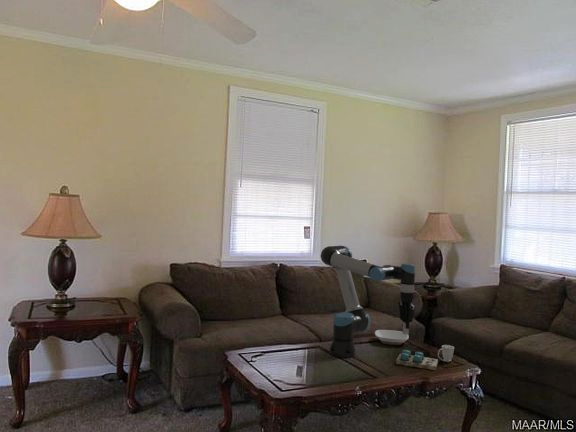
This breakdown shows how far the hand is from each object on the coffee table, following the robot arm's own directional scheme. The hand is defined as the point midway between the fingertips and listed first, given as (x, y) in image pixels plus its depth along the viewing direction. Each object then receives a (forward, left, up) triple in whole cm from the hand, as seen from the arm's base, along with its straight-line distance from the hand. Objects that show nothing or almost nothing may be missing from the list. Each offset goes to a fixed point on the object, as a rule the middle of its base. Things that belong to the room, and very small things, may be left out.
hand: (405, 333), depth 262 cm
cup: (+20, +16, -17) cm, 31 cm away
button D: (+7, +7, -14) cm, 17 cm away
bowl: (-15, +40, -17) cm, 46 cm away
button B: (0, +7, -14) cm, 16 cm away
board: (+6, +3, -16) cm, 18 cm away
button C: (+7, 0, -14) cm, 16 cm away
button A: (0, 0, -14) cm, 14 cm away
